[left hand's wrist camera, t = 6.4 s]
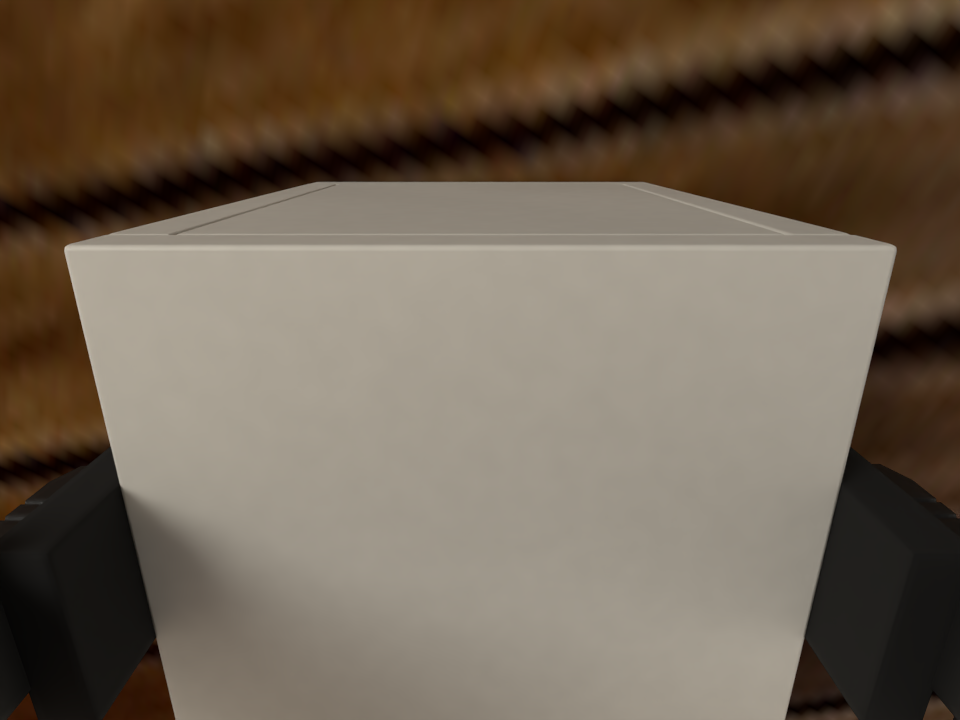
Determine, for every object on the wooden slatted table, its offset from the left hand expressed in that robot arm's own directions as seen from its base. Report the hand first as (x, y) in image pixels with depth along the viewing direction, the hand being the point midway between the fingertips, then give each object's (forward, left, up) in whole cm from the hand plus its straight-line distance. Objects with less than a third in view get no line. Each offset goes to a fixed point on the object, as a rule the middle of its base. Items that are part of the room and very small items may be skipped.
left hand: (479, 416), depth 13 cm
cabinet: (+1, +6, -7) cm, 9 cm away
